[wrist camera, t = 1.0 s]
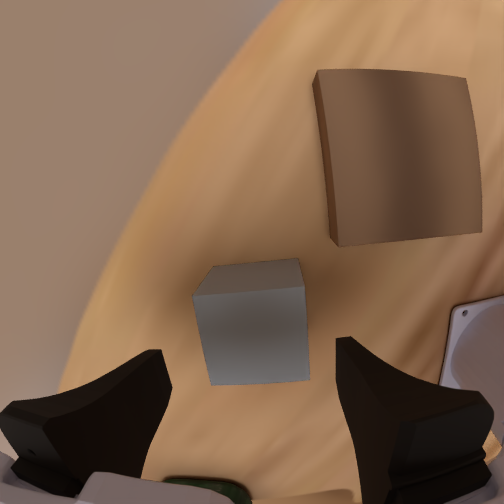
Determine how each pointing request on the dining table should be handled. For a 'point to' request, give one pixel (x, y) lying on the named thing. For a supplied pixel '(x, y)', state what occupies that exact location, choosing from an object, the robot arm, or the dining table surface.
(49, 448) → the robot arm
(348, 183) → the walnut block
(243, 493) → the coffee jar
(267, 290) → the slate cube
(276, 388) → the dining table surface
